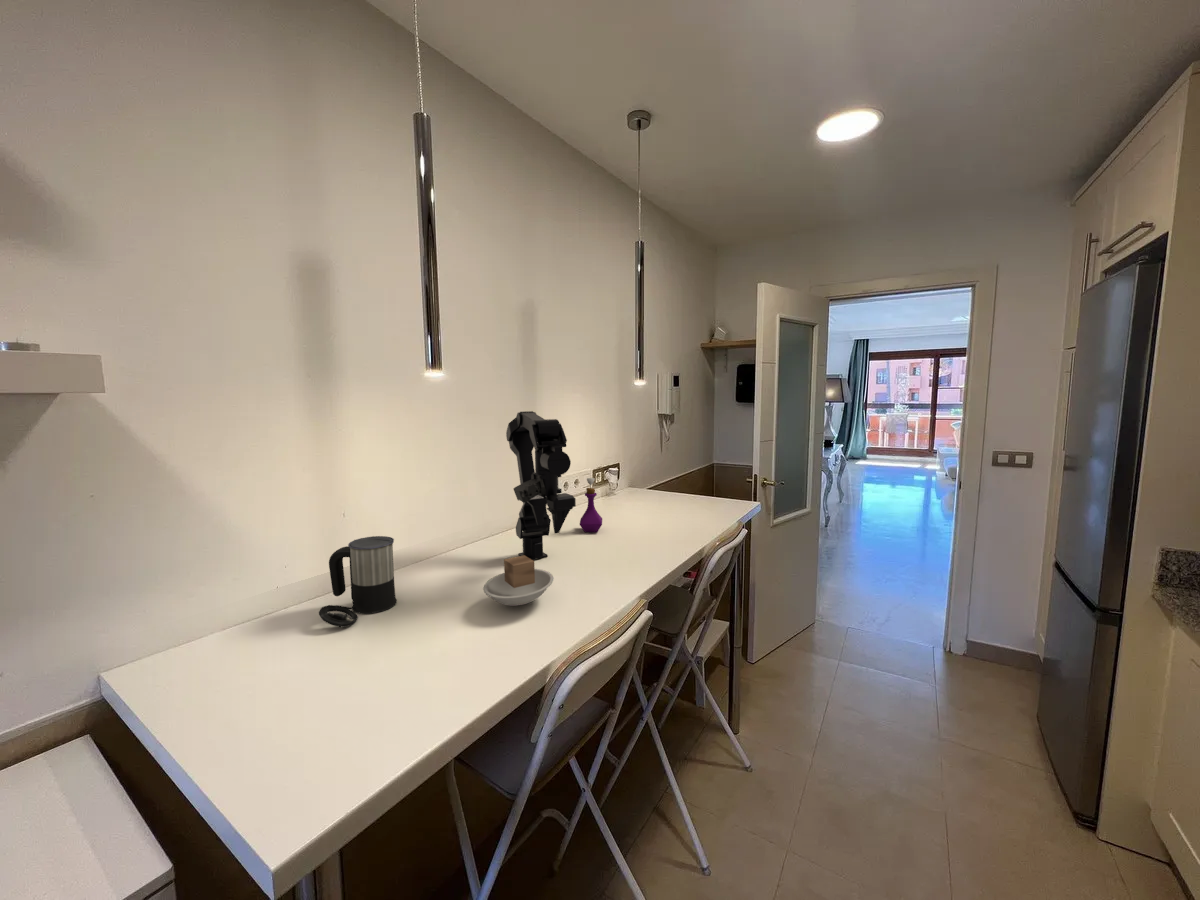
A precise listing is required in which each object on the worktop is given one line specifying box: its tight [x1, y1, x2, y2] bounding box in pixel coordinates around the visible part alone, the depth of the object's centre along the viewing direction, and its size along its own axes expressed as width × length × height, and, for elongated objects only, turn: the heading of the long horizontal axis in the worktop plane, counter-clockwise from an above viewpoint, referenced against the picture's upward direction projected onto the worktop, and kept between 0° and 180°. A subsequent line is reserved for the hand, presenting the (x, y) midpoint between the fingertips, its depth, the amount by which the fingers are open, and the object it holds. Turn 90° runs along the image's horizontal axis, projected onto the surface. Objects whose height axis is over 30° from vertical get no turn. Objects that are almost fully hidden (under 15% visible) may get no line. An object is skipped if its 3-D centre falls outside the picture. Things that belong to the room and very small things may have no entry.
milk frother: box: [318, 535, 398, 628], centre depth 108 cm, size 14×16×15 cm
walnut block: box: [503, 555, 536, 588], centre depth 112 cm, size 5×5×5 cm
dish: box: [482, 568, 554, 607], centre depth 113 cm, size 18×14×5 cm
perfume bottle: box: [579, 477, 603, 533], centre depth 169 cm, size 8×8×18 cm
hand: (547, 529), depth 129 cm, fingers open, 9 cm apart
